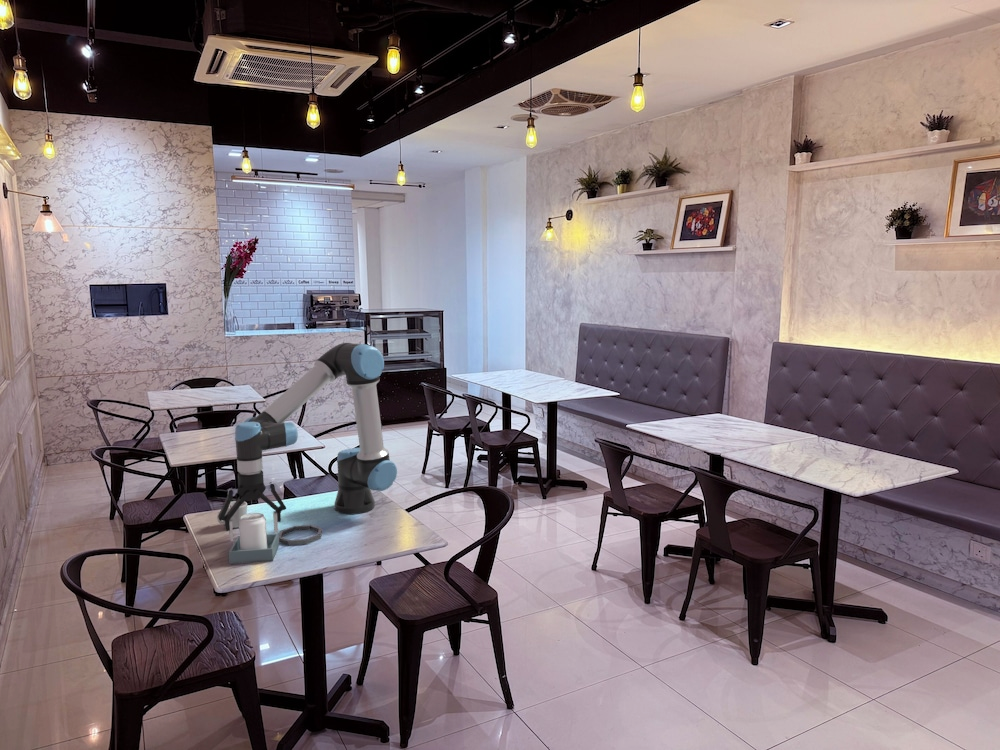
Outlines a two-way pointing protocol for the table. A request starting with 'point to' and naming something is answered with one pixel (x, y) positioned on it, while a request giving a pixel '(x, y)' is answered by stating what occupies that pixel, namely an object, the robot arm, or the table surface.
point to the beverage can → (252, 531)
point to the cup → (236, 517)
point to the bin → (254, 551)
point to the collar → (300, 541)
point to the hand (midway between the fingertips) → (254, 535)
